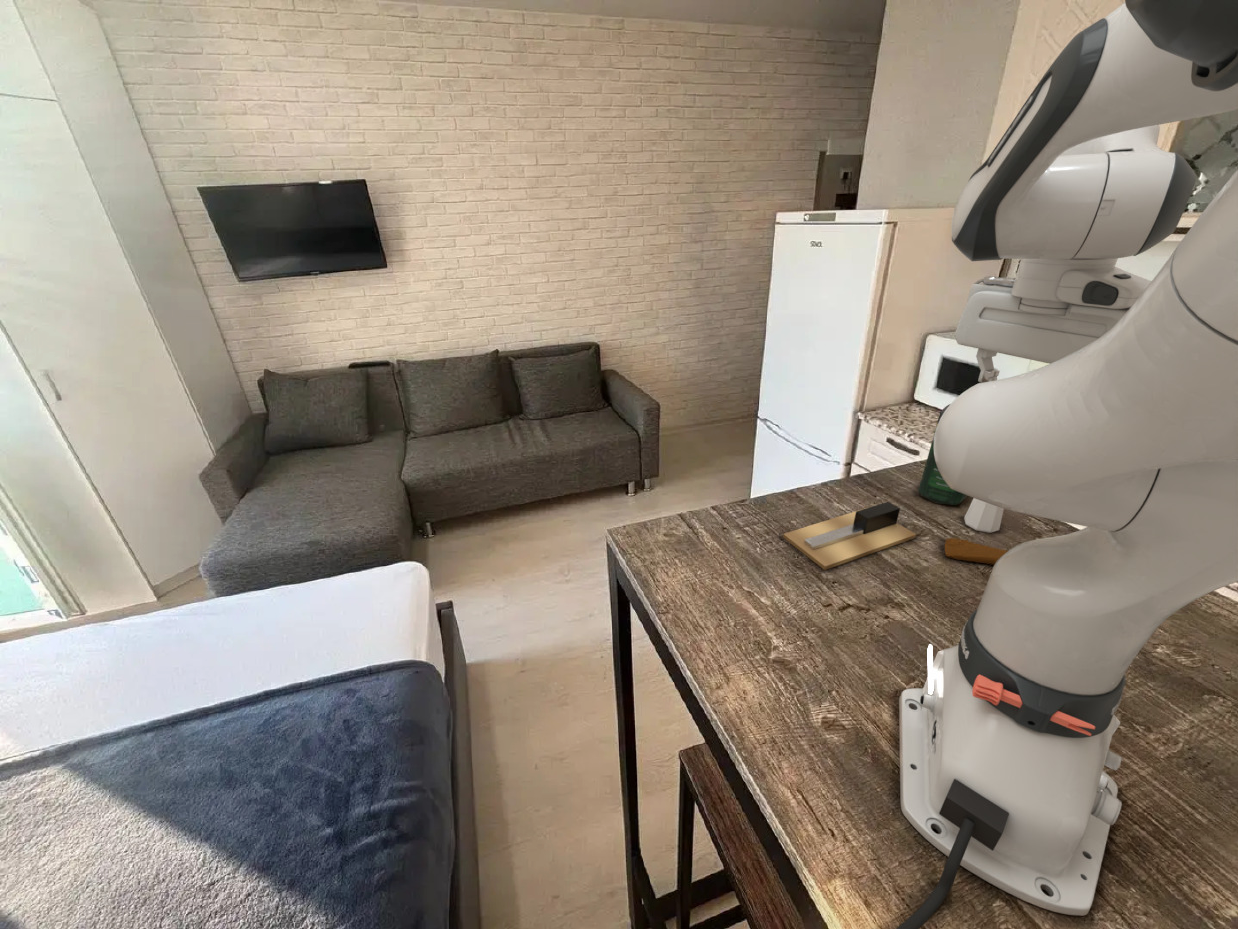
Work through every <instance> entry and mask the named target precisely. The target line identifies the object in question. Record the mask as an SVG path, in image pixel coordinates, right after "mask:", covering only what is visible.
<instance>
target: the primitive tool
mask: <svg viewBox="0 0 1238 929" xmlns="http://www.w3.org/2000/svg"><path fill="white" fill-rule="evenodd" d="M1008 551H1009V550H1006V549H1004V548H1003V549H1002V548H997V547H992V546H989V545H984V544H981V543H975V542H971V541H969V540H967V539H959V538H954V537H953V538H952V537H951V538H946V539H945V541H944V554H945V556H946V557H947V558H951V559H953V560H959V561H965V562H966V561H967V562H972V563H982V564H987V565H993V566H994V565H995V563H996V562H997V560H998V559H999V558H1000V557H1001V556H1003V555H1004V554H1005V553H1006V552H1008Z"/></svg>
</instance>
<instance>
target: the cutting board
mask: <svg viewBox="0 0 1238 929" xmlns="http://www.w3.org/2000/svg"><path fill="white" fill-rule="evenodd" d="M869 507H870V506H868V507H865V508H862V509H858V510H855V511H852V512H848V513H846V514H843V515H839V516H836V517H832V518H830V519H826V520H823V521H819V522H816V523H814V524H810V525H807V526H804V527H801V528H797V529H795V530H791V531H787V532H784V533H783V534H782V538H783V539H784V540H785V541H787V542H788V543H789V544H791V545H792V546H793V547H794V548H796V550H798V551H799V552H800V553H802V554H803V555H804V556H806V557H807V558H808V559H809V560H811V561H812V562H814V563H815V564H816V565H817V566H818V567H820V568H821V569H822V570H824V571H826V570H829V569H832V568H834V567H837V566H840V565H843V564H846V563H849V562H852V561H855V560H857V559H860V558H863V557H865V556H868V555H871V554H874V553H878V552H880V551H883V550H885V549H889V548H892V547H894V546H897V545H900V544H902V543H905V542H908V541H911V540H913V539H916V536H917V534H916V533H915V532H913V531H911V530H909V529H908V528H906V527H904V526H902V525H901V524H899V523H898V522H897V523H896V524H894V525H891V526H888V527H885V528H882V529H879V530H876V531H873V532H870V533H867V534H861V535H858V536H855V537H852V538H848V539H845V540H842V541H839V542H836V543H833V544H830V545H827V546H824V547H821V548H818V549H815V550H812V549H811V548H809V547H808V546H807V545H806V544H804V540H805V539H808V538H811V537H814V536H817V535H821V534H824V533H827V532H830V531H833V530H836V529H840V528H843V527H846V526H849V525H852V524H854V519H855V514H856V511H859V510H863V509H866V508H869Z"/></svg>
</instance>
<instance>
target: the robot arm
mask: <svg viewBox="0 0 1238 929" xmlns="http://www.w3.org/2000/svg"><path fill="white" fill-rule="evenodd" d="M1236 110H1238V0H1124V2H1122V4H1121V5H1119V6H1118V7H1117V8H1115V9H1114V10H1113V11H1112V12H1110V13H1109V14H1107V15H1106V16H1105V17H1103V18H1101V19H1098V20H1097V21H1095V22H1094V23H1092V24H1091V25H1089V26H1088V27H1086V28H1084V29H1082V31H1080V32H1078V33H1077V34H1076V35H1074V36H1073V38H1072V39H1071V40H1069V42H1068V43H1067V44H1066V46H1064V49H1062V51H1061V52H1060V53H1059V55H1058V56H1057V57H1056V58H1055V59H1054V61H1053V62H1052V63H1051V65H1050V66H1049V67H1048V69H1047V70H1046V72H1045V73H1044V74H1043V76H1042V77H1041V79H1040V80H1039V82H1038V83H1037V84H1036V86H1035V88H1034V89H1033V90H1032V92H1031V93H1030V94H1029V96H1028V97H1027V98H1026V100H1025V102H1024V103H1023V105H1022V106H1021V108H1020V109H1019V111H1018V113H1017V114H1016V115H1015V117H1014V119H1013V120H1012V121H1011V123H1010V124H1009V126H1008V127H1007V129H1006V130H1005V132H1004V133H1003V135H1002V136H1001V138H1000V140H999V141H998V143H997V144H996V146H995V147H994V149H993V150H992V151H991V153H990V154H989V155H988V157H987V159H986V160H984V162H983V163H981V165H980V166H979V167H978V168H977V169H976V170H975V171H974V172H973V173H972V174H971V176H970V178H969V179H968V181H967V183H966V184H965V186H964V187H963V188H962V191H961V192H960V194H959V196H958V199H957V201H956V203H955V206H954V210H953V214H952V217H951V218H952V219H951V227H950V228H951V231H950V232H951V242H952V243H953V245H954V246H955V247H956V248H957V250H958V251H959V252H960V253H961V254H963V256H964V257H966V259H968V260H969V261H971V262H984V261H985V262H987V261H1002V260H1004V259H1008V260H1009V259H1012V260H1013V259H1015V260H1020V262H1019V265H1018V268H1017V272H1016V275H1015V277H997V276H995V275H986V276H984V277H983V278H981V279H978V280H977V281H976V282H974V284H972V285H971V287H970V289H969V293H968V296H967V302H966V304H965V307H964V309H963V310H962V312H961V315H960V318H959V321H958V322H957V326H956V329H955V333H954V337H955V338H954V339H955V341H956V343H957V345H960V346H964V347H969V348H973V349H977V351H976V355H975V357H976V360H977V364H978V367H979V370H980V372H979V376H978V380H977V381H978V382H979V383H977V384H975V385H973V386H971V387H969V388H968V389H966V390H965V391H963V392H962V393H960V395H958V396H957V397H956V398H955V399H953V401H952V402H951V403H949V404H950V405H949V404H948V405H949V407H948V408H947V409H946V411H945V412H944V414H943V415H942V417H941V419H940V421H939V423H938V425H937V424H936V425H937V428H936V427H935V429H936V432H935V431H934V433H935V436H934V435H933V436H934V446H933V448H934V457H935V462H936V465H937V468H938V470H939V472H940V474H941V476H942V477H943V479H944V481H945V482H946V483H947V485H948V486H949V487H950V488H951V489H952V490H955V491H958V492H960V493H963V494H965V495H967V497H971V498H975V499H978V500H981V501H983V502H986V503H989V504H992V505H995V506H998V507H1000V508H1003V509H1004V510H1005V511H1009V512H1013V513H1017V514H1023V515H1026V516H1027V515H1028V516H1033V517H1037V518H1042V519H1047V520H1053V521H1057V522H1063V523H1066V524H1067V523H1068V524H1072V525H1077V526H1082V527H1084V528H1082V529H1079V530H1077V531H1074V532H1071V533H1067V534H1062V535H1058V536H1049V537H1043V538H1037V539H1031V540H1028V541H1025V542H1021V543H1020V544H1018V545H1015V546H1014V547H1012V548H1010V549H1009V550H1007V551H1008V552H1006V553H1005V554H1004V555H1003V556H1001V557H1000V558H999V559H998V560H997V562H996V563H995V565H993V566H992V570H991V572H990V575H989V577H988V580H987V583H986V586H985V588H984V591H983V594H982V597H981V599H980V601H979V605H978V607H977V608H976V609H975V610H974V611H972V613H971V614H970V615H969V617H968V619H967V620H966V622H965V624H964V625H963V628H962V631H961V635H960V639H959V642H958V644H956V645H954V646H951V647H948V648H944V649H942V650H939V651H937V653H936V655H935V657H934V656H933V655H934V654H933V645H932V644H931V643H930V644H928V647H927V650H926V651H927V676H926V677H927V678H926V680H925V682H924V685H923V687H922V688H921V687H920V688H919V687H918V688H917V687H916V688H906V689H904V690H903V691H901V694H900V695H899V697H898V716H899V717H898V718H899V720H898V721H899V724H898V725H899V726H898V727H899V728H898V729H899V790H900V791H899V792H900V793H899V795H900V797H899V798H900V809H901V813H902V814H903V816H904V817H905V818H906V820H907V821H908V822H909V823H910V825H911V826H912V827H913V828H914V829H915V830H916V831H917V832H918V833H919V834H920V835H921V836H922V837H923V838H924V839H925V840H926V841H928V842H929V844H931V845H932V846H933V847H935V849H937V850H938V851H939V852H941V853H942V854H944V855H945V856H946V857H947V859H946V862H945V863H944V866H943V870H942V873H941V876H940V879H939V881H938V883H937V884H936V886H935V887H934V888H933V890H932V892H931V893H930V895H929V896H928V897H927V898H926V899H925V901H924V902H923V903H922V904H921V905H920V906H919V907H918V909H916V910H915V911H914V912H913V913H912V914H911V915H909V917H908V918H907V919H905V920H904V921H903V922H902V923H901V924H899V925H898V926H897V927H896V928H895V929H920V928H921V927H922V926H923V925H924V924H925V923H926V922H927V921H928V920H929V919H930V918H931V917H932V916H933V915H934V914H935V912H937V910H938V909H939V907H940V906H941V905H942V904H943V902H944V900H945V899H946V898H947V896H948V895H949V893H950V891H951V889H952V887H953V884H954V882H955V880H956V876H957V874H958V871H959V868H960V866H961V867H962V868H964V869H966V871H968V872H970V873H972V874H974V875H975V876H977V877H979V878H980V879H982V880H984V881H986V882H987V883H989V884H991V885H992V886H994V887H996V888H998V889H999V890H1002V891H1003V892H1006V893H1007V894H1009V895H1011V896H1013V897H1015V898H1018V899H1020V900H1022V901H1024V902H1026V903H1029V904H1032V905H1033V906H1036V907H1038V908H1041V909H1044V910H1046V911H1047V910H1048V911H1050V912H1053V913H1058V914H1063V915H1068V916H1082V917H1083V916H1087V915H1088V914H1089V912H1090V910H1091V908H1092V905H1093V902H1094V899H1095V894H1096V890H1097V885H1098V881H1099V877H1100V871H1101V868H1102V864H1103V858H1104V855H1105V850H1106V844H1107V841H1108V837H1109V832H1110V828H1111V826H1113V825H1114V824H1115V823H1116V822H1117V820H1118V818H1119V816H1120V813H1121V809H1122V800H1120V799H1119V798H1118V793H1119V787H1118V785H1117V783H1116V781H1115V780H1114V779H1113V778H1112V777H1111V776H1110V775H1109V774H1108V773H1106V771H1104V768H1105V767H1106V768H1109V769H1111V770H1113V771H1118V769H1119V768H1120V766H1121V763H1122V760H1123V758H1122V756H1121V755H1119V754H1118V753H1115V752H1113V751H1111V750H1110V745H1111V742H1112V738H1113V735H1114V734H1115V733H1116V731H1117V730H1118V728H1119V726H1120V725H1121V720H1119V719H1118V718H1117V715H1116V714H1115V713H1116V712H1117V711H1118V709H1119V706H1120V704H1121V702H1122V698H1123V695H1124V694H1123V692H1124V690H1125V689H1124V688H1125V687H1126V681H1127V680H1126V678H1127V677H1126V673H1127V671H1128V670H1129V668H1130V667H1131V665H1132V663H1133V662H1134V661H1135V659H1136V657H1137V656H1138V654H1139V653H1140V652H1141V650H1142V649H1143V647H1144V646H1145V645H1146V643H1147V642H1148V641H1149V639H1151V637H1152V635H1153V634H1154V633H1155V632H1156V630H1157V629H1158V628H1159V627H1160V626H1161V625H1162V624H1163V623H1164V622H1165V621H1167V619H1168V618H1170V617H1171V616H1172V615H1174V614H1175V613H1176V612H1178V611H1179V610H1181V609H1182V608H1184V607H1186V606H1187V605H1189V604H1191V603H1192V602H1195V601H1196V600H1198V599H1200V598H1202V597H1204V596H1206V595H1208V594H1211V593H1212V592H1216V591H1218V590H1220V589H1222V588H1224V587H1227V586H1230V585H1232V584H1235V583H1238V168H1237V169H1236V170H1235V172H1234V173H1233V174H1232V175H1231V177H1230V178H1229V179H1228V180H1227V181H1226V183H1225V184H1224V185H1223V187H1221V189H1220V190H1219V191H1218V192H1217V194H1216V195H1215V196H1214V197H1213V199H1212V200H1211V201H1210V202H1209V204H1208V205H1207V206H1206V208H1205V209H1204V210H1203V211H1202V213H1201V214H1200V215H1199V217H1198V218H1197V219H1196V221H1195V222H1194V223H1193V225H1191V227H1190V228H1189V230H1188V231H1187V232H1186V233H1185V235H1184V236H1183V238H1182V239H1181V241H1179V243H1178V245H1177V246H1176V248H1175V249H1174V250H1173V252H1172V253H1171V255H1170V256H1169V257H1168V258H1167V260H1166V261H1165V263H1164V264H1163V266H1162V267H1161V268H1160V270H1159V271H1158V272H1157V273H1156V275H1155V276H1154V278H1153V279H1152V280H1150V279H1147V278H1144V277H1143V276H1139V275H1137V274H1134V273H1131V272H1129V271H1126V270H1124V269H1122V268H1119V267H1117V266H1116V265H1117V262H1118V259H1123V258H1124V259H1125V258H1128V257H1129V258H1130V257H1137V256H1138V255H1141V254H1143V253H1144V252H1147V251H1148V250H1150V249H1152V248H1153V247H1154V246H1157V245H1158V244H1160V243H1161V242H1163V241H1165V239H1167V238H1168V237H1170V236H1171V235H1172V234H1173V233H1174V232H1175V231H1176V229H1177V227H1178V225H1179V223H1180V221H1181V219H1182V216H1183V214H1184V211H1185V210H1186V207H1187V204H1188V202H1189V200H1190V197H1191V195H1192V192H1193V190H1194V187H1195V185H1196V180H1197V175H1196V172H1195V171H1194V170H1193V168H1192V167H1191V165H1190V164H1189V163H1188V161H1187V160H1186V159H1185V158H1184V157H1183V156H1182V155H1180V154H1179V153H1178V152H1176V151H1173V152H1170V151H1167V150H1164V149H1162V148H1160V147H1159V146H1158V141H1159V137H1160V130H1161V127H1160V126H1161V125H1164V124H1165V125H1166V124H1171V123H1177V122H1182V121H1187V120H1193V119H1198V118H1204V117H1210V116H1215V115H1219V114H1223V113H1228V112H1233V111H1236ZM998 354H1002V355H1005V356H1006V355H1007V356H1012V357H1016V358H1021V359H1027V360H1031V361H1035V362H1040V363H1044V364H1046V365H1044V366H1040V367H1038V368H1037V369H1033V370H1031V371H1028V372H1025V373H1021V374H1018V375H1014V376H1010V377H1006V378H1001V379H998V377H999V375H1000V370H998V369H995V367H994V366H995V365H994V362H993V357H996V356H997V355H998ZM933 829H934V830H936V831H937V832H938V833H936V832H935V831H934V830H933ZM1044 891H1045V892H1046V893H1047V894H1048V895H1047V894H1046V893H1045V892H1044Z"/></svg>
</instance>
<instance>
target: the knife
mask: <svg viewBox="0 0 1238 929" xmlns="http://www.w3.org/2000/svg"><path fill="white" fill-rule="evenodd" d="M868 507H869V508H868ZM868 507H865V508H866V509H864V508H862V509H863V510H861V509H858V510H859V511H858V510H855V511H856V514H855V519H854V524H852V525H849V526H846V527H843V528H840V529H836V530H833V531H830V532H827V533H824V534H821V535H817V536H814V537H811V538H808V539H805V540H804V544H806V545H807V546H808V547H809V548H811V549H812V550H815V549H818V548H821V547H824V546H827V545H830V544H833V543H836V542H839V541H842V540H845V539H848V538H852V537H855V536H858V535H861V534H867V533H870V532H873V531H876V530H879V529H882V528H885V527H888V526H891V525H894V524H896V523H898V519H899V515H900V511H901V508H900V507H898V506H896V505H895V504H893V503H891V502H889V501H886V502H883V503H879V504H876V505H873V506H868Z"/></svg>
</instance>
